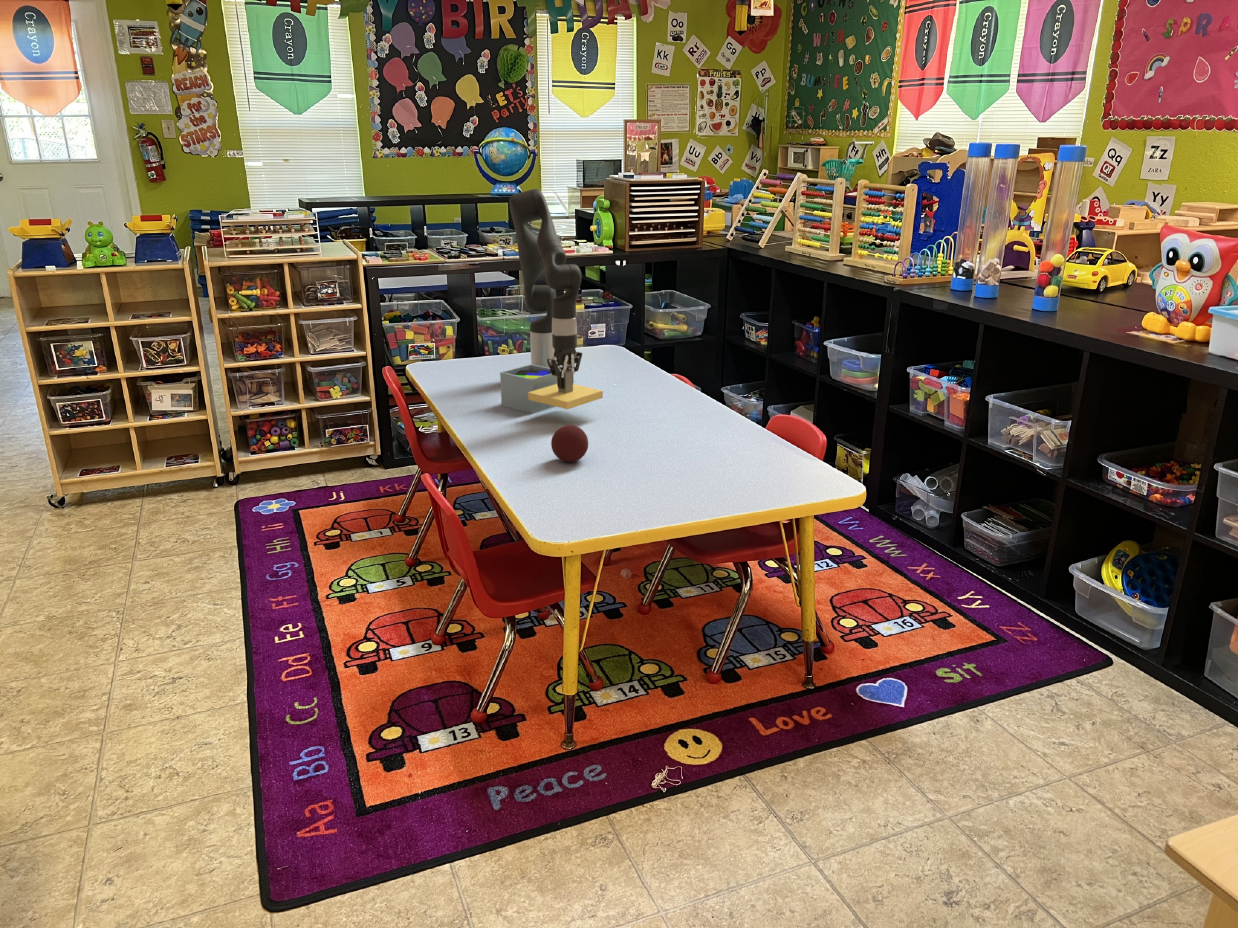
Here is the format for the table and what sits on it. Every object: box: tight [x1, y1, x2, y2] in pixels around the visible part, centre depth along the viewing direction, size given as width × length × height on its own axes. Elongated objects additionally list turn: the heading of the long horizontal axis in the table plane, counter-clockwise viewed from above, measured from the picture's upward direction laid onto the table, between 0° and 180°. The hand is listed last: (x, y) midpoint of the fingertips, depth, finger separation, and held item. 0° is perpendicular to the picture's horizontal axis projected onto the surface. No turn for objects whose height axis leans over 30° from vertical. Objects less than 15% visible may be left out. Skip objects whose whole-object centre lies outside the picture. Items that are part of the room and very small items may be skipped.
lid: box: [528, 369, 604, 410], centre depth 276 cm, size 16×16×9 cm
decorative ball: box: [550, 424, 589, 463], centre depth 241 cm, size 10×10×10 cm
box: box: [499, 363, 557, 414], centre depth 291 cm, size 14×14×11 cm
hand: (565, 387), depth 276 cm, fingers closed on lid, 3 cm apart
